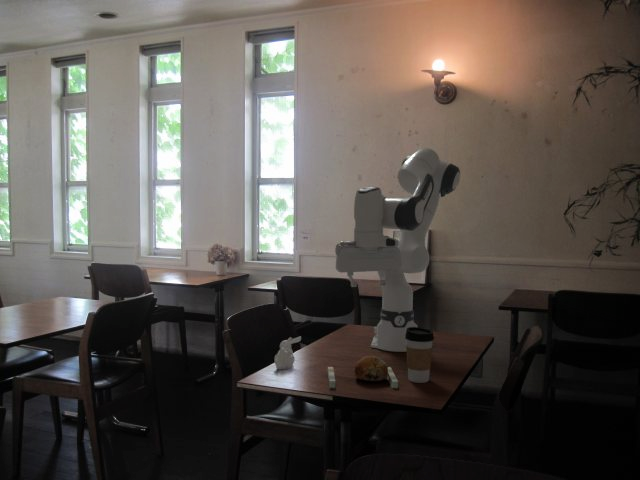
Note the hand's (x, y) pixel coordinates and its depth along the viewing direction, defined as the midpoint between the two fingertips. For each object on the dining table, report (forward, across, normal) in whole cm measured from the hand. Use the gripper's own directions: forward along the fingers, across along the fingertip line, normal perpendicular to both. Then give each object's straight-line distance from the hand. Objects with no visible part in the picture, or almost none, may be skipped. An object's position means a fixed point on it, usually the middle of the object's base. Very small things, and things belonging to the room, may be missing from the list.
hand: (368, 285), depth 176 cm
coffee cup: (+27, +12, -11) cm, 31 cm away
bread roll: (+27, -3, -10) cm, 29 cm away
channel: (+26, -5, -9) cm, 28 cm away
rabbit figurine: (+26, -24, +10) cm, 37 cm away
